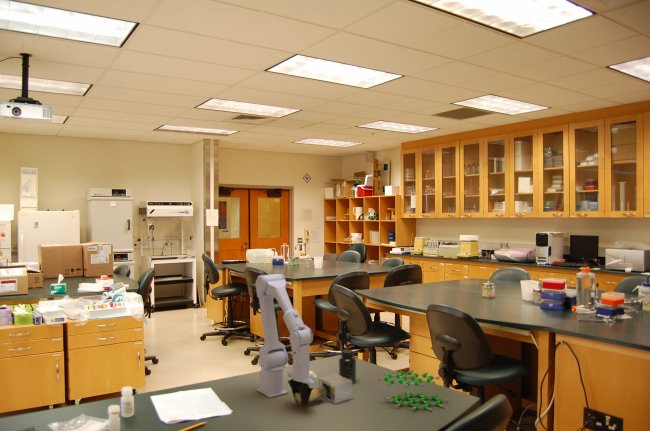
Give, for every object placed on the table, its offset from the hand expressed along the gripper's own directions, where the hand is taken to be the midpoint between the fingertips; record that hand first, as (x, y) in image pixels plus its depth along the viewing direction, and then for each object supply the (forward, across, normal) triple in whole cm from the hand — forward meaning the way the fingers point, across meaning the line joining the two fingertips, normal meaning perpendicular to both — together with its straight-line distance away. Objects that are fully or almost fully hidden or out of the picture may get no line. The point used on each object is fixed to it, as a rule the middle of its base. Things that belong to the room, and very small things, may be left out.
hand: (301, 402), depth 170 cm
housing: (+1, 0, -15) cm, 15 cm away
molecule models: (+2, -20, -34) cm, 40 cm away
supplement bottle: (+2, +10, -29) cm, 31 cm away
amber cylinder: (0, 0, -4) cm, 4 cm away
